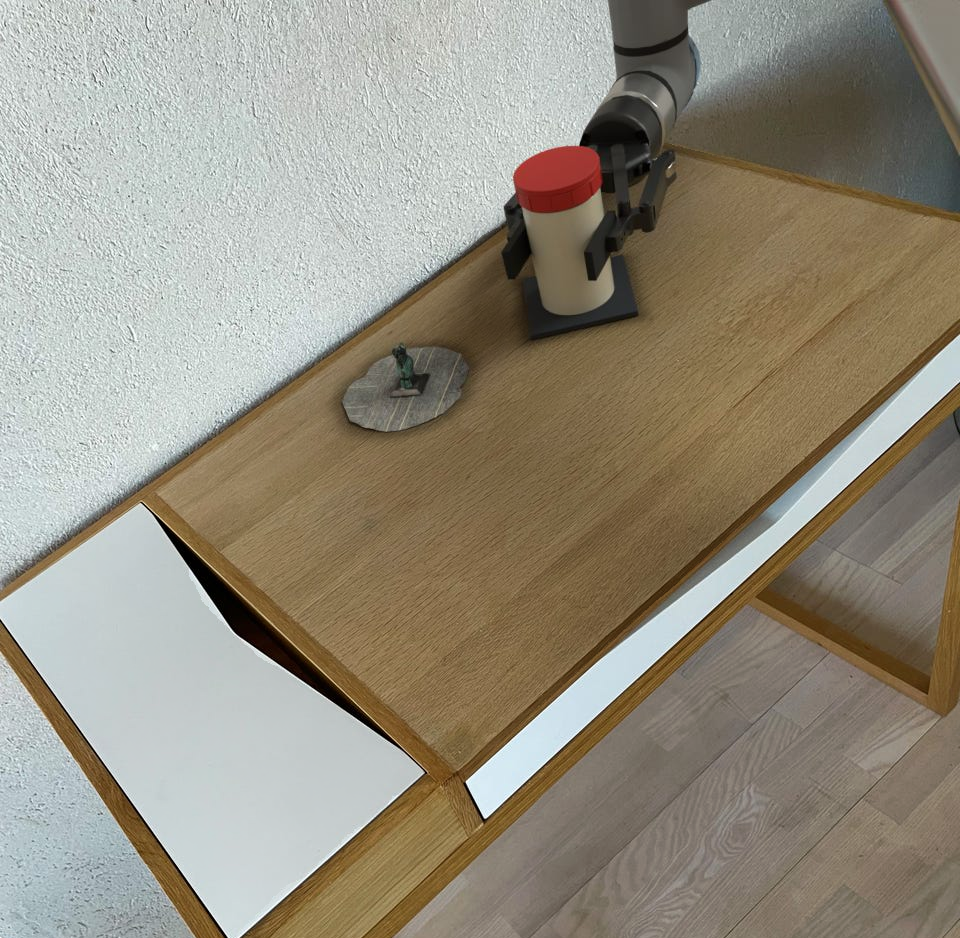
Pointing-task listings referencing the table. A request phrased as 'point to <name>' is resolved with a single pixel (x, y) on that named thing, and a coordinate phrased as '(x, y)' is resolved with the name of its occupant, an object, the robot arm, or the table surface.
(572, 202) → the lid
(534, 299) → the mat
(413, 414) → the sculpture
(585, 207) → the jar
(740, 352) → the table surface
